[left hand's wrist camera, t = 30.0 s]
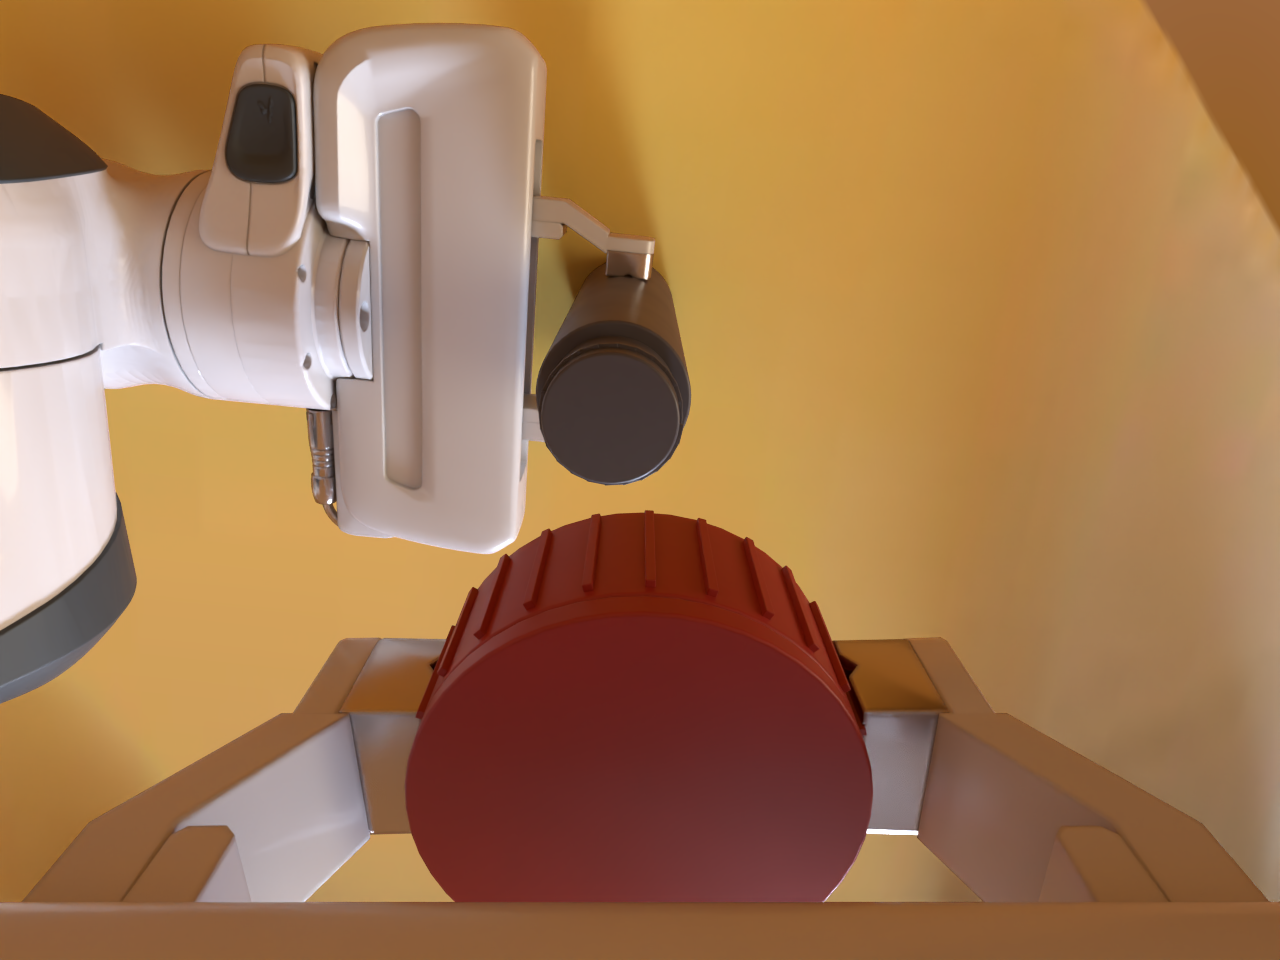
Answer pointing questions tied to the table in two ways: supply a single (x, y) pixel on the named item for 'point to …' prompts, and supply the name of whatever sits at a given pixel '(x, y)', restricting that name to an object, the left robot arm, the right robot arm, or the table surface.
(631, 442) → the jar
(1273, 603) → the table surface
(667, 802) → the lid
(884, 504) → the table surface
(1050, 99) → the table surface
